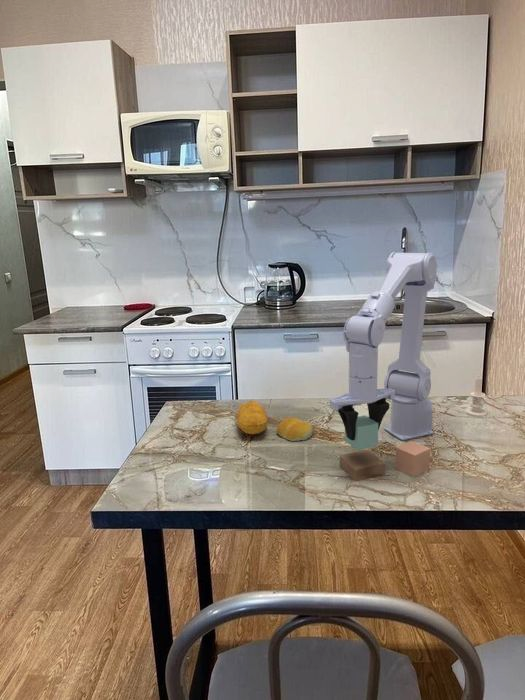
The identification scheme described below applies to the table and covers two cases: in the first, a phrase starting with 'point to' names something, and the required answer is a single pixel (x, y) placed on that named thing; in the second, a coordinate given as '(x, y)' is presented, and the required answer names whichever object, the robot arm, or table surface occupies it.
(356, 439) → the teal cube
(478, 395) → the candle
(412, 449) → the terracotta cube
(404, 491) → the table surface
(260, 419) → the orange oval lump
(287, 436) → the bread roll
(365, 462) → the walnut block
